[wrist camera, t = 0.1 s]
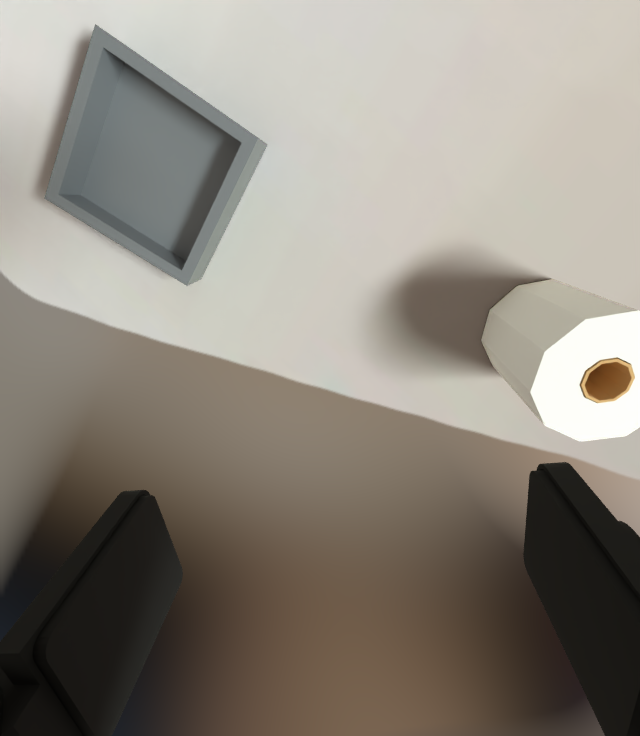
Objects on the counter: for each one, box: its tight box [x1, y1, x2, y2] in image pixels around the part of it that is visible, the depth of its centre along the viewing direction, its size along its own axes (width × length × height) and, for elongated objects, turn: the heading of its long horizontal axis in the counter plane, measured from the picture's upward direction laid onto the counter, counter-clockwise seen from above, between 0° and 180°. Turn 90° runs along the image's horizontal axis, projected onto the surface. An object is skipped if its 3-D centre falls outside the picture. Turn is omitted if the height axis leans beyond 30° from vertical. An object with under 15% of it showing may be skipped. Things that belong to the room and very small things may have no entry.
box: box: [45, 24, 267, 286], centre depth 34 cm, size 14×14×4 cm
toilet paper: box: [481, 279, 640, 442], centre depth 33 cm, size 10×10×12 cm
